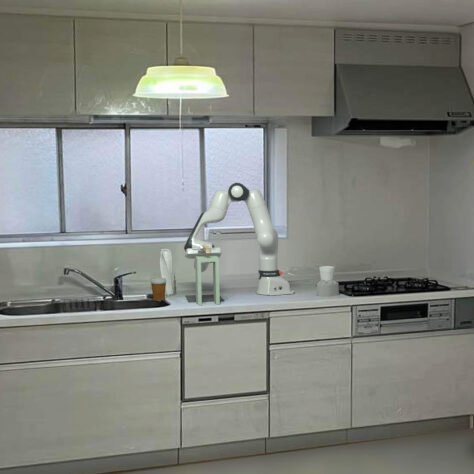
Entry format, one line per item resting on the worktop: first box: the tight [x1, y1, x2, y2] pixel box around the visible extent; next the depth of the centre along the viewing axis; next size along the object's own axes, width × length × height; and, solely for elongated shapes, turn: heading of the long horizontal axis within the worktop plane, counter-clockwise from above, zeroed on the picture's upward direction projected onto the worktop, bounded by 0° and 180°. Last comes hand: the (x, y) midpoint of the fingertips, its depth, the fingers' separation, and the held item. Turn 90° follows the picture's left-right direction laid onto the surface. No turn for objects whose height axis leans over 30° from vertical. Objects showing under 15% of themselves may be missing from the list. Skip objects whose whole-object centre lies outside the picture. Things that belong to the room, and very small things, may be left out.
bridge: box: [194, 256, 221, 306], centre depth 402 cm, size 12×10×26 cm
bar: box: [202, 245, 210, 253], centre depth 404 cm, size 19×2×2 cm, turn 9°
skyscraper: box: [159, 248, 178, 297], centre depth 435 cm, size 8×8×28 cm
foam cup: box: [318, 265, 336, 281], centre depth 453 cm, size 10×9×13 cm
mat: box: [185, 293, 225, 303], centre depth 420 cm, size 20×21×1 cm
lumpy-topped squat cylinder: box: [316, 279, 340, 297], centre depth 426 cm, size 10×13×9 cm
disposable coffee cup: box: [149, 277, 167, 301], centre depth 419 cm, size 10×10×12 cm
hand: (204, 247), depth 410 cm, fingers closed on bar, 2 cm apart
